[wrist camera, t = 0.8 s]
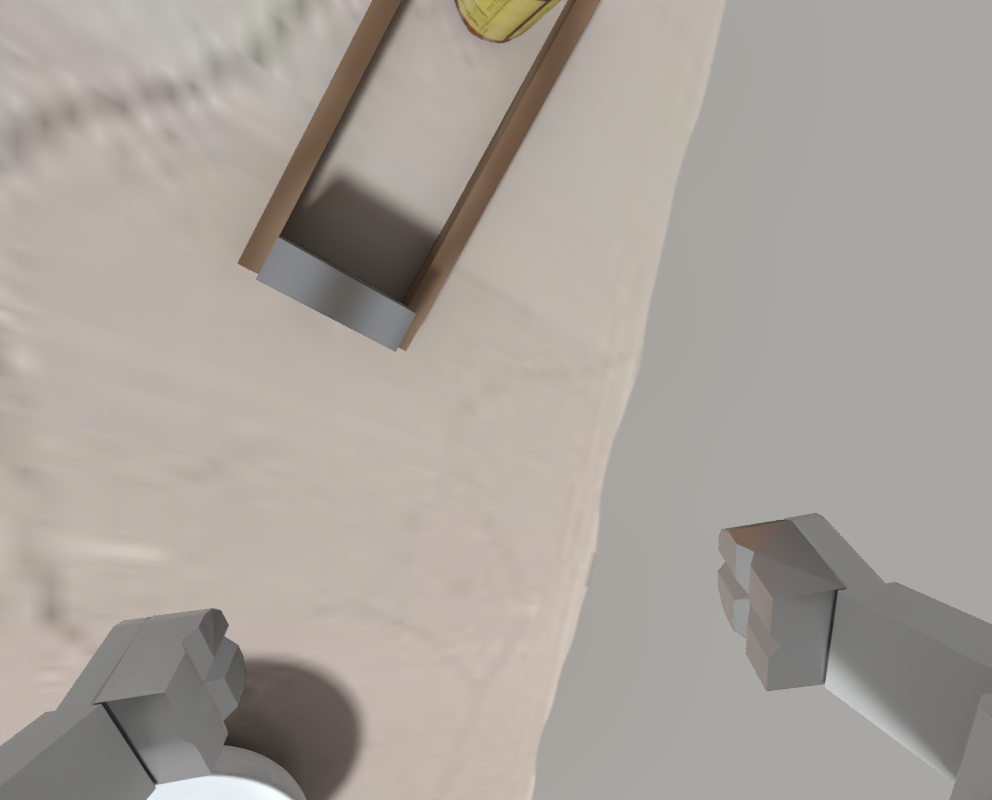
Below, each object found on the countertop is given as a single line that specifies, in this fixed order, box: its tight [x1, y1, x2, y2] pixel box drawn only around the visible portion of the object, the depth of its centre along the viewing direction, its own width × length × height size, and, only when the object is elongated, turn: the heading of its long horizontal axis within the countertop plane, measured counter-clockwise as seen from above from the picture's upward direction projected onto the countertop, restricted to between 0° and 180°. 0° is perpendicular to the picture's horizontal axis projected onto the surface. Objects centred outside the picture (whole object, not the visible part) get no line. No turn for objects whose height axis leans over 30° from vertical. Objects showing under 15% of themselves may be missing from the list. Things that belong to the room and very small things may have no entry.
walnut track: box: [238, 0, 600, 352], centre depth 41 cm, size 13×30×6 cm, turn 148°
